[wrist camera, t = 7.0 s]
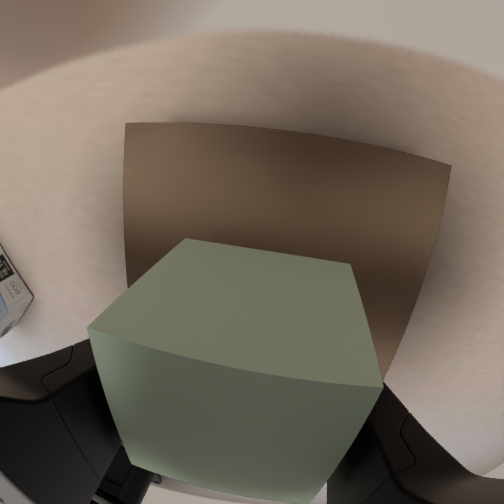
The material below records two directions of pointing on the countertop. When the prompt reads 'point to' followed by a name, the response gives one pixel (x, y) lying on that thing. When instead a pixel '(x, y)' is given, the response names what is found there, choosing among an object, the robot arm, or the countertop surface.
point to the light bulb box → (11, 295)
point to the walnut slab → (288, 206)
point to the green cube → (239, 369)
